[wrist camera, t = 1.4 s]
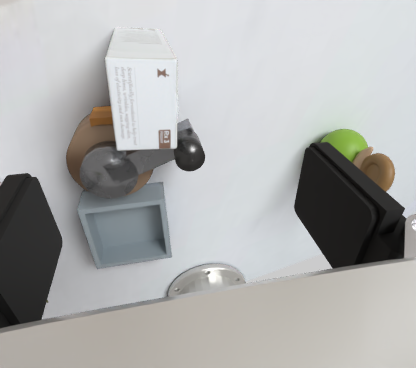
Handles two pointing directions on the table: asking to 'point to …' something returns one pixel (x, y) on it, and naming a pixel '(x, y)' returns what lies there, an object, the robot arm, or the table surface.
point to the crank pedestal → (94, 142)
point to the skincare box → (142, 89)
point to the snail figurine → (363, 156)
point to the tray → (126, 226)
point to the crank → (136, 163)
